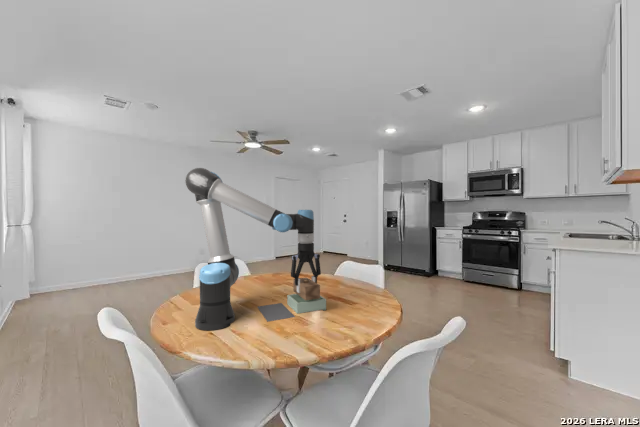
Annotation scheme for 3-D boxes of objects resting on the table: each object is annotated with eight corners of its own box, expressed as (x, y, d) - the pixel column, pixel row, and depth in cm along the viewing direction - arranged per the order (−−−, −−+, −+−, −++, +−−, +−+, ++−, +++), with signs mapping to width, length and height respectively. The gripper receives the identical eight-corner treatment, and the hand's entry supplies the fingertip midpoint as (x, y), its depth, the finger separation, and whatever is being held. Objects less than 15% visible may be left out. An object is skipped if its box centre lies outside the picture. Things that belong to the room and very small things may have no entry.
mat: (267, 323, 111) (267, 321, 111) (256, 307, 129) (256, 306, 129) (295, 318, 116) (295, 316, 116) (281, 304, 134) (281, 302, 134)
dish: (297, 315, 119) (297, 303, 119) (287, 305, 132) (287, 295, 132) (326, 310, 125) (326, 299, 125) (313, 301, 138) (313, 291, 138)
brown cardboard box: (305, 300, 120) (305, 284, 120) (293, 291, 134) (293, 276, 134) (320, 298, 123) (319, 282, 123) (306, 289, 137) (306, 275, 137)
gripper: (288, 244, 121) (288, 296, 121) (328, 242, 129) (328, 290, 129) (283, 242, 128) (283, 291, 128) (321, 240, 136) (321, 286, 136)
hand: (306, 291), depth 129 cm, fingers closed on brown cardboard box, 7 cm apart
